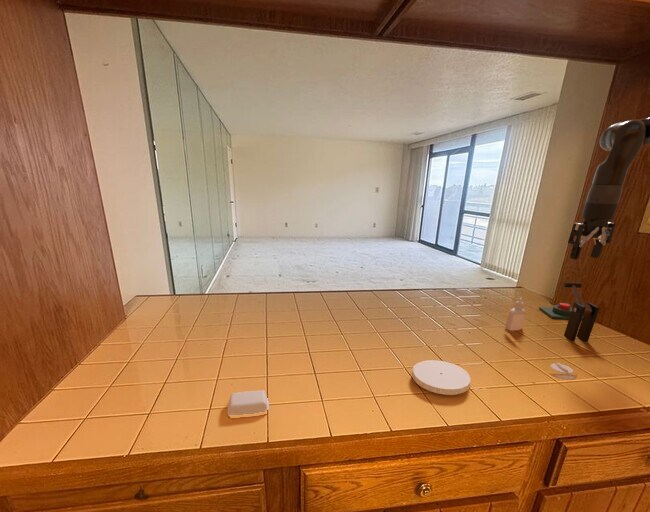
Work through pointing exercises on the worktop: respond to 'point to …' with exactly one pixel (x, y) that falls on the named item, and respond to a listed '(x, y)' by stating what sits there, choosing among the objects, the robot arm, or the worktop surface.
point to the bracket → (576, 320)
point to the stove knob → (563, 371)
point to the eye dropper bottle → (516, 317)
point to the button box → (556, 312)
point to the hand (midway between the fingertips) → (584, 258)
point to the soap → (248, 402)
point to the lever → (578, 297)
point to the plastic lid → (441, 377)
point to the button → (564, 306)
